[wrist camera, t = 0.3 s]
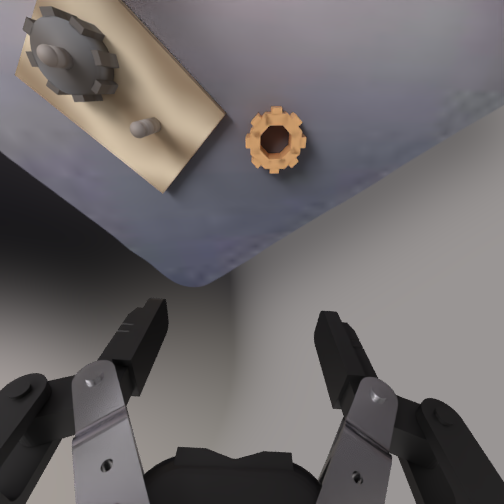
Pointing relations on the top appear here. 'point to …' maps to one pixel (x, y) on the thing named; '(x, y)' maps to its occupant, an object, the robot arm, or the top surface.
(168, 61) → the gear board
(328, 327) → the robot arm
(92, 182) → the top surface
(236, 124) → the top surface
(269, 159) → the gear
